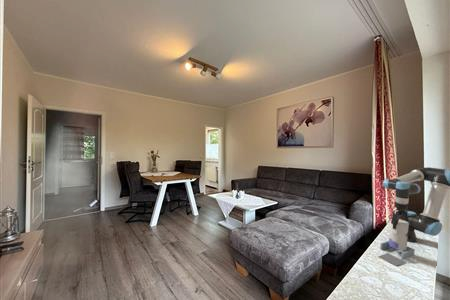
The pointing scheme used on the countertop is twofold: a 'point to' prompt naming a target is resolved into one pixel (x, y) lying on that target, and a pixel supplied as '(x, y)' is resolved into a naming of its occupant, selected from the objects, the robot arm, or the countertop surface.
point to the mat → (392, 259)
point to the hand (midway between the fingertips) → (398, 231)
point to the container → (399, 235)
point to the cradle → (406, 253)
